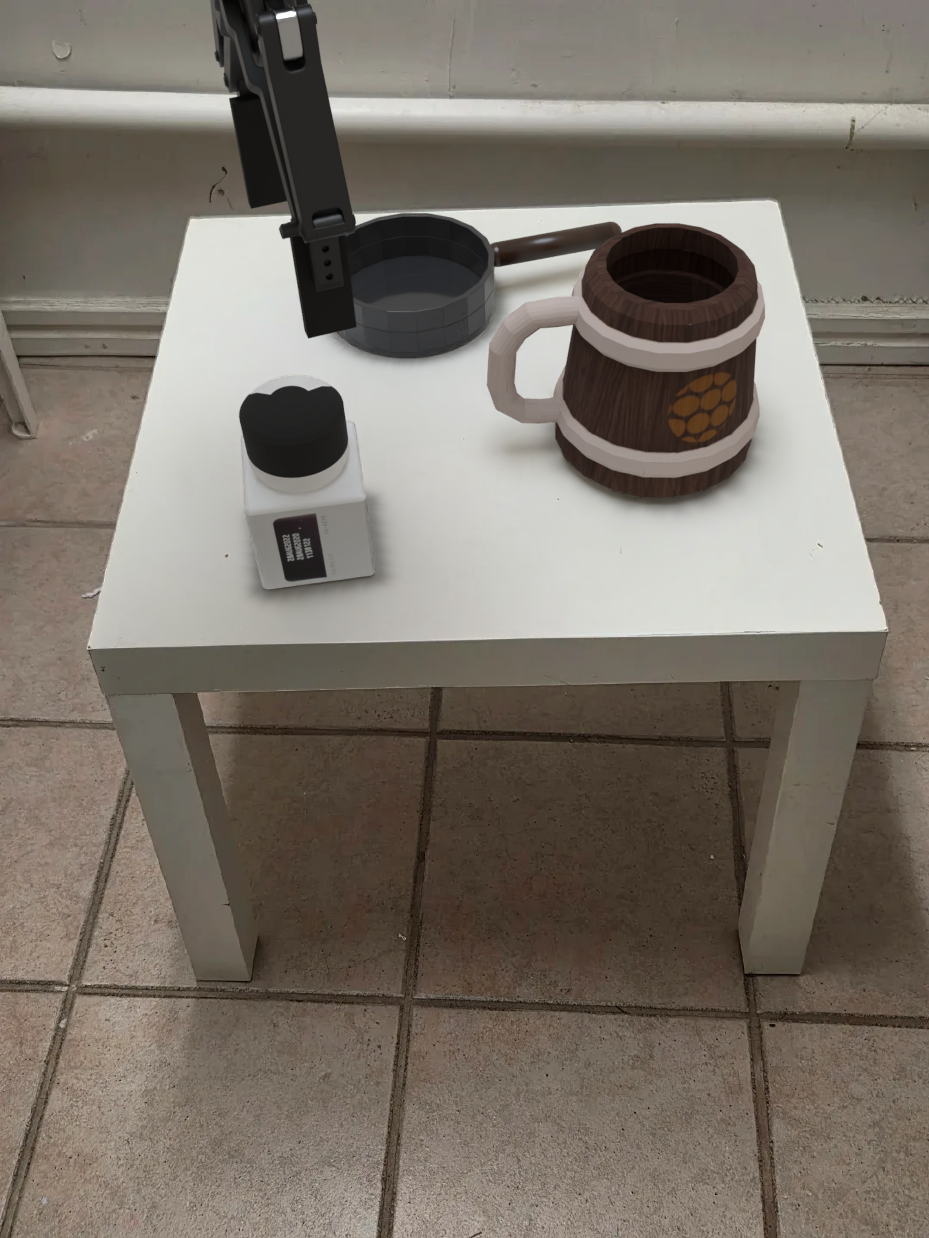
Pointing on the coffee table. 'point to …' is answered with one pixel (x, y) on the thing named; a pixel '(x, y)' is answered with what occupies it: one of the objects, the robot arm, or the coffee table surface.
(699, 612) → the coffee table surface
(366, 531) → the container
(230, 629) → the coffee table surface
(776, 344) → the coffee table surface
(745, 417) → the mug
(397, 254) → the pan
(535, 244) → the pan handle
